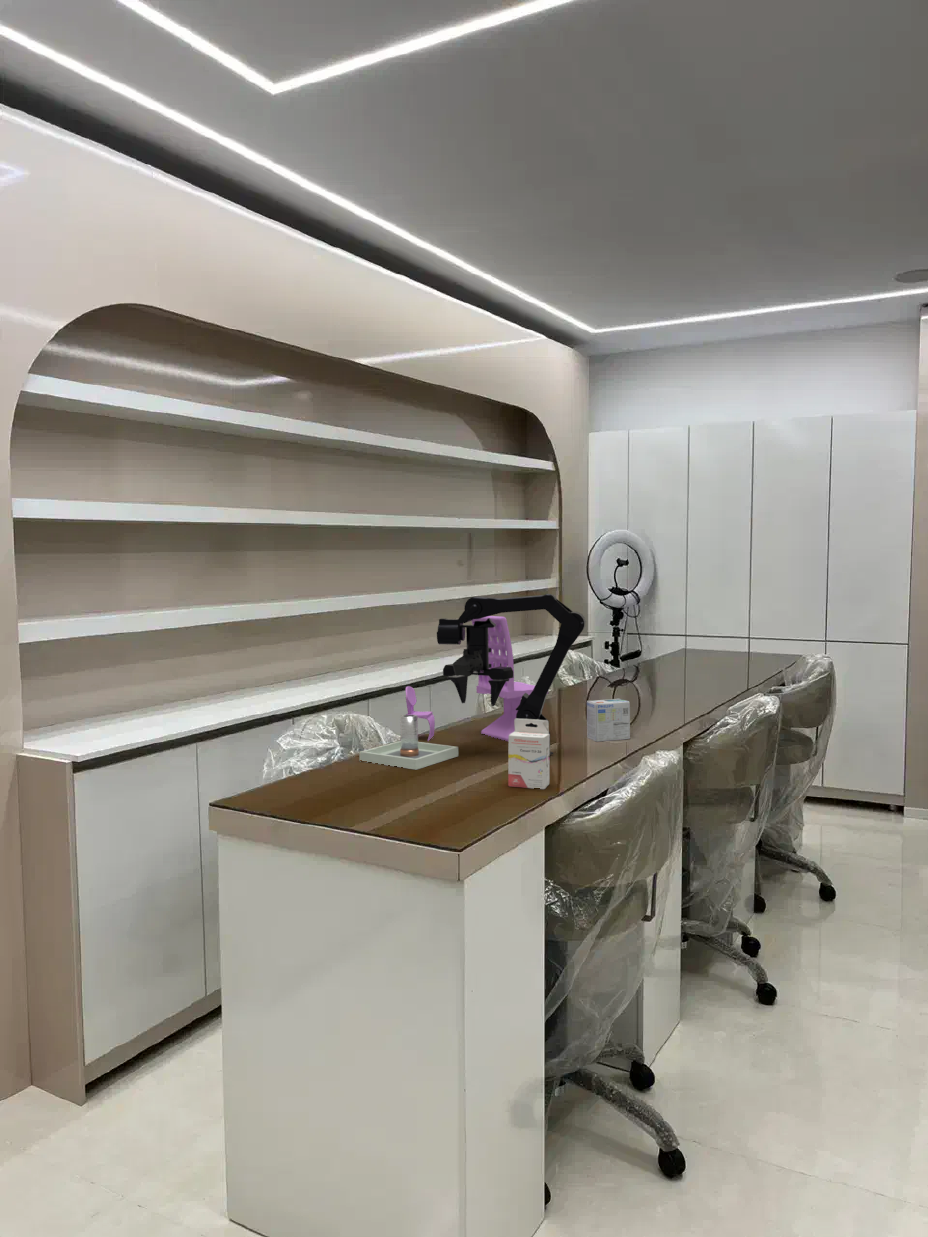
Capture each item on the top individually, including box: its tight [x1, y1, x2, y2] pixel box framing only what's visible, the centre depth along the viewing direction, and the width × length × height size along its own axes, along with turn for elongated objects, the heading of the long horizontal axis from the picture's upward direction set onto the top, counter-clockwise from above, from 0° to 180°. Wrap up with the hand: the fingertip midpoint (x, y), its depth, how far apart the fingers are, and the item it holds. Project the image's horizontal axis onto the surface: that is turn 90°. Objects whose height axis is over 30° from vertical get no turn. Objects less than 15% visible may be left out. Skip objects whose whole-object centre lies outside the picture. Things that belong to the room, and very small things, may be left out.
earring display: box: [470, 615, 549, 743], centre depth 259 cm, size 15×17×35 cm
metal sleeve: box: [399, 714, 419, 757], centre depth 231 cm, size 5×5×10 cm
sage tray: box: [358, 740, 459, 771], centre depth 231 cm, size 18×18×2 cm
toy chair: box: [399, 685, 436, 742], centre depth 257 cm, size 8×9×15 cm
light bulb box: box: [586, 698, 631, 743], centre depth 254 cm, size 11×7×11 cm, turn 108°
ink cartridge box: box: [507, 718, 551, 790], centre depth 202 cm, size 9×5×15 cm, turn 71°
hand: (478, 704), depth 235 cm, fingers open, 9 cm apart
